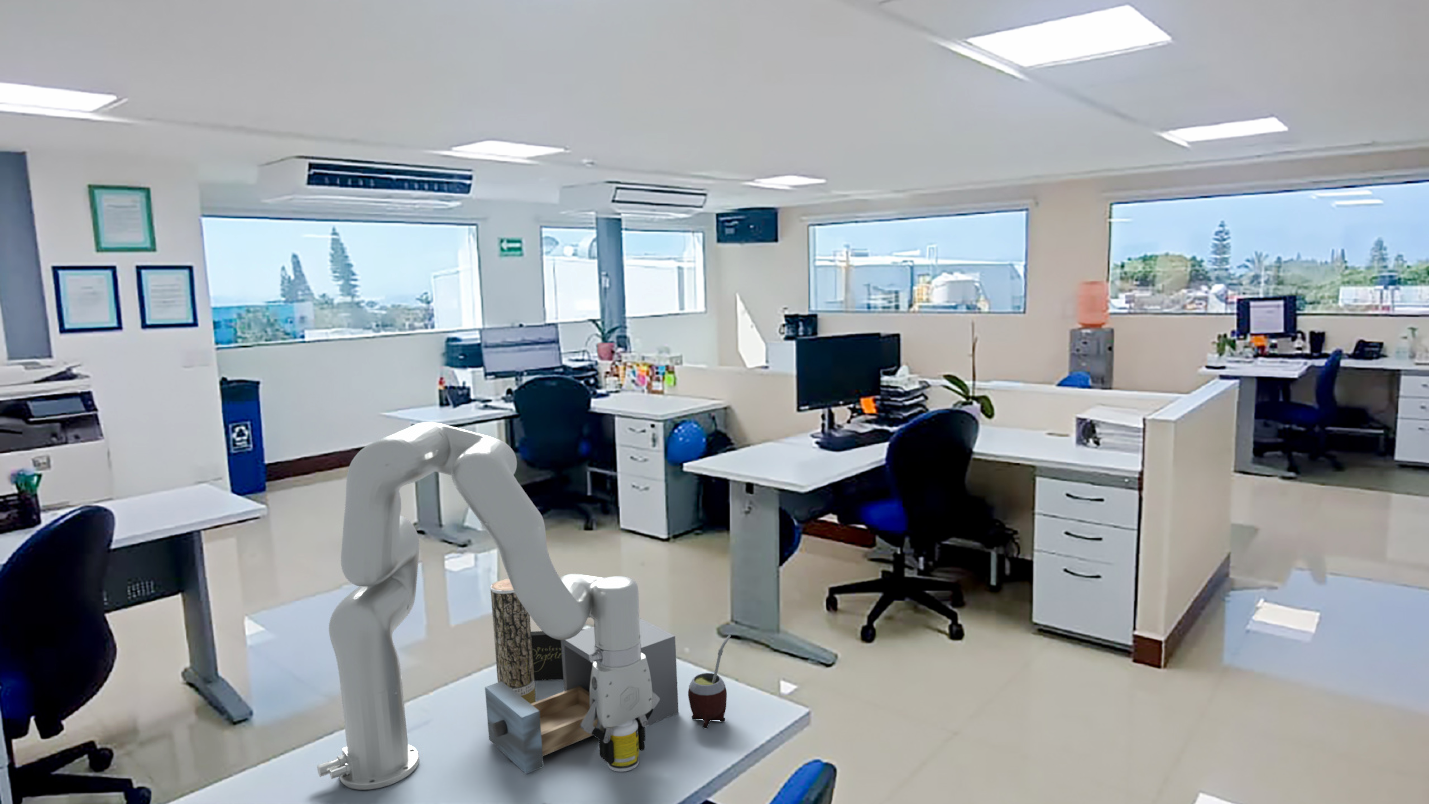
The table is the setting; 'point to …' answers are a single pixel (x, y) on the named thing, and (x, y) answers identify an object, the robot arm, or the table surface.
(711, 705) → the mate gourd
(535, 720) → the drawer
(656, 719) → the cabinet
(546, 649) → the nameplate
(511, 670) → the brown bark cylinder
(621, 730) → the supplement bottle
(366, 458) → the robot arm
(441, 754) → the table surface
